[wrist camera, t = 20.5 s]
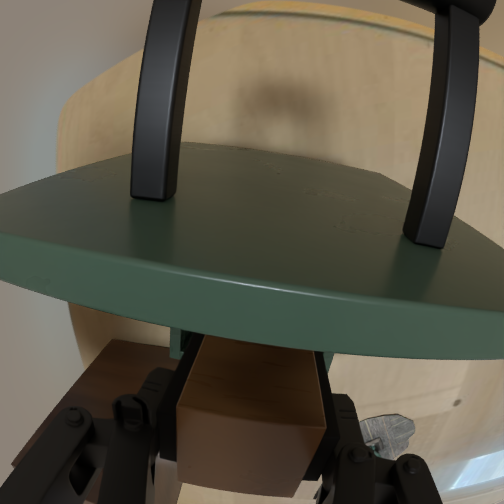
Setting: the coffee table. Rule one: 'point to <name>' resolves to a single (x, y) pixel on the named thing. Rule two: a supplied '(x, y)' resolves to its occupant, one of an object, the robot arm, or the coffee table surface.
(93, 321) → the coffee table surface
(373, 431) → the sculpture
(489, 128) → the coffee table surface
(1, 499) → the robot arm
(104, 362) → the plinth
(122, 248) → the box lid
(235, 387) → the block
